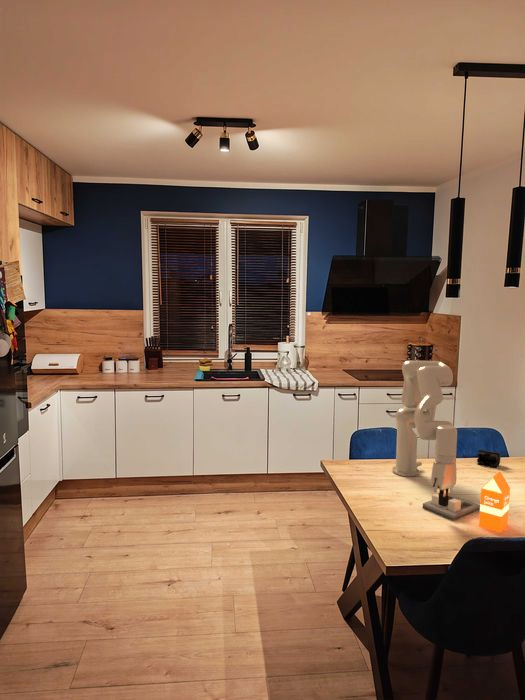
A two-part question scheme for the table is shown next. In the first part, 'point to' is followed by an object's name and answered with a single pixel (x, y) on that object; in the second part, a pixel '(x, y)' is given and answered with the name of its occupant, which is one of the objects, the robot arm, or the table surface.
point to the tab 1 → (435, 499)
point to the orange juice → (494, 504)
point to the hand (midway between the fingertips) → (443, 505)
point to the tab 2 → (454, 505)
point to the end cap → (488, 459)
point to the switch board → (466, 509)
